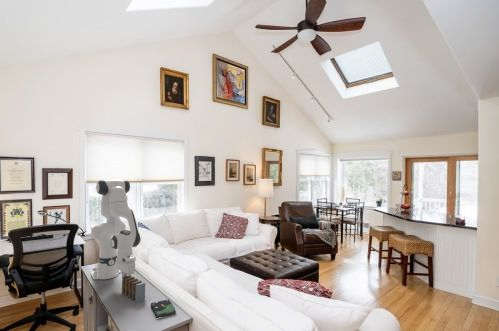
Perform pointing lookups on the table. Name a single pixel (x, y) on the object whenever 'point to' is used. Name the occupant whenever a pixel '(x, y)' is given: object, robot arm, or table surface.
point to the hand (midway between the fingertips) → (124, 278)
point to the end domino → (140, 292)
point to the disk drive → (163, 308)
